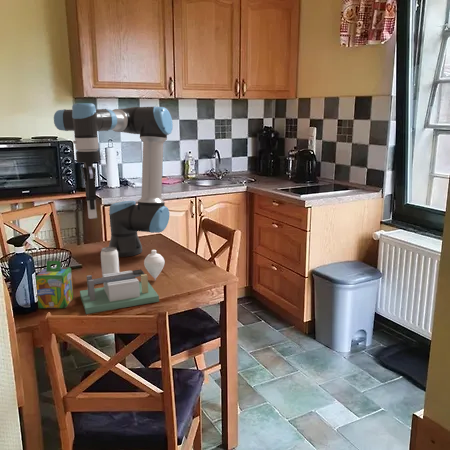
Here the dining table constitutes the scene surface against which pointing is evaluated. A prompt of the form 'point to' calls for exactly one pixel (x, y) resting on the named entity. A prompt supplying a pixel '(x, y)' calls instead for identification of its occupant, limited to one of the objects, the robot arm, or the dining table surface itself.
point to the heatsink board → (115, 304)
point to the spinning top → (154, 263)
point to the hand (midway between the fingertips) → (92, 217)
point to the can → (109, 260)
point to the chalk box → (54, 286)
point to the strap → (118, 277)
